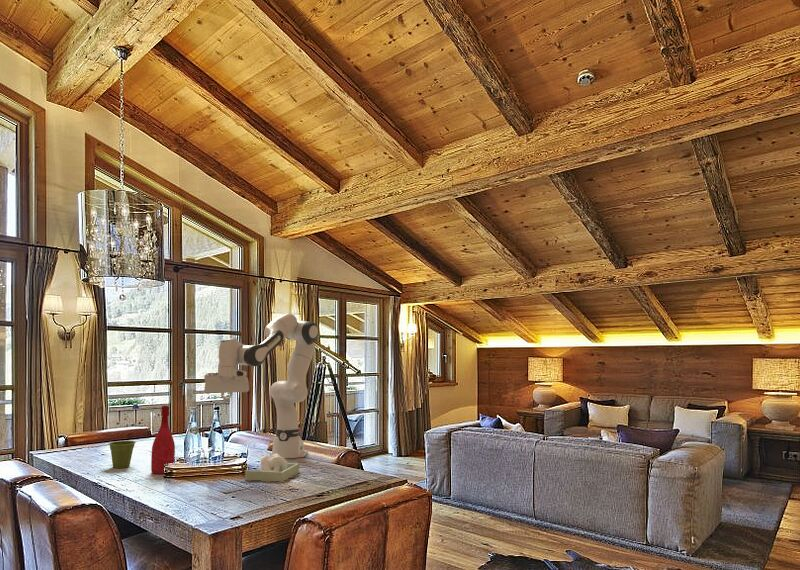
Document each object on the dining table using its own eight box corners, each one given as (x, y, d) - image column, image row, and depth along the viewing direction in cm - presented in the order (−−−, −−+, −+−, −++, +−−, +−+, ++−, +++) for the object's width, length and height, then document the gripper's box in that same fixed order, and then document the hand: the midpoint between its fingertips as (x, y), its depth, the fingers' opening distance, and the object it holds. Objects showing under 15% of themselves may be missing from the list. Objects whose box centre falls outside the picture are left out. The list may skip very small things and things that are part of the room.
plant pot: (104, 466, 283) (105, 442, 284) (130, 463, 290) (131, 439, 291) (110, 470, 274) (112, 445, 275) (137, 467, 281) (139, 443, 282)
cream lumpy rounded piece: (273, 479, 258) (273, 458, 259) (252, 476, 264) (253, 455, 265) (290, 475, 268) (290, 454, 268) (270, 472, 274) (270, 452, 274)
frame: (264, 470, 276) (264, 461, 276) (298, 472, 273) (299, 463, 273) (244, 480, 256) (245, 470, 257) (282, 482, 253) (282, 472, 254)
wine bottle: (158, 475, 264) (161, 407, 267) (146, 472, 269) (149, 405, 272) (178, 472, 271) (181, 405, 274) (166, 469, 277) (169, 404, 280)
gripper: (203, 372, 277) (202, 402, 275) (249, 372, 281) (248, 402, 280) (205, 372, 283) (204, 401, 282) (249, 372, 287) (248, 401, 286)
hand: (226, 402), depth 281 cm, fingers closed
